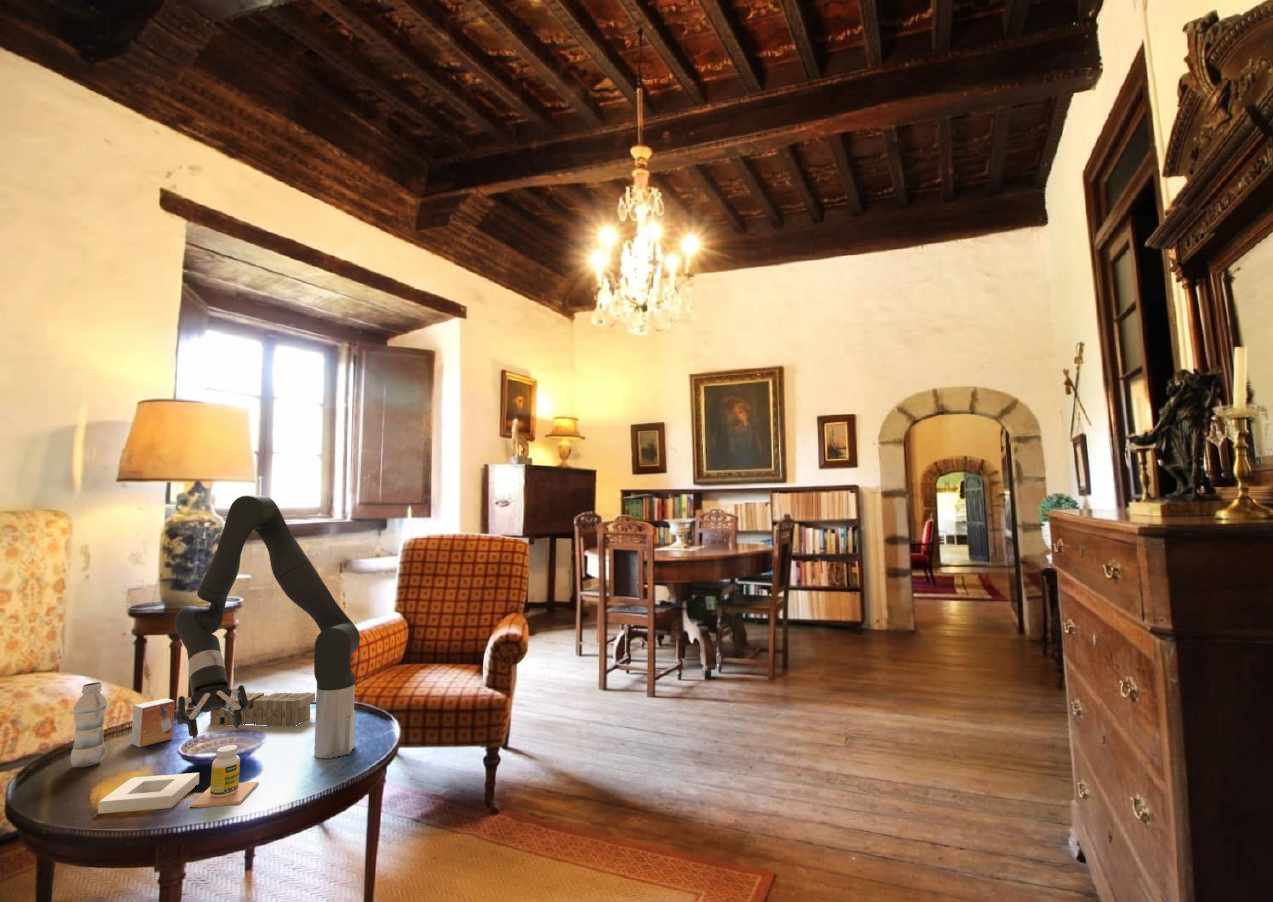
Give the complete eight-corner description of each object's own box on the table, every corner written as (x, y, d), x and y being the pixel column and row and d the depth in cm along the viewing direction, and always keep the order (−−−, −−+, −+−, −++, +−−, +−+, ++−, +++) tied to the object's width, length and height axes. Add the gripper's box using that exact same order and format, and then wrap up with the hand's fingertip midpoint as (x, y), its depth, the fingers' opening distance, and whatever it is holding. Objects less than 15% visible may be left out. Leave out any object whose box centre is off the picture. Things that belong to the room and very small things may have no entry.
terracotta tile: (258, 783, 149) (258, 781, 149) (240, 803, 139) (240, 801, 139) (211, 787, 147) (211, 784, 147) (189, 808, 137) (189, 805, 137)
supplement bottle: (224, 799, 140) (227, 753, 140) (204, 797, 141) (206, 751, 141) (244, 788, 145) (246, 744, 146) (224, 786, 146) (226, 742, 147)
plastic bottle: (106, 764, 160) (111, 683, 161) (70, 773, 155) (76, 689, 156) (102, 757, 164) (107, 679, 166) (67, 765, 159) (73, 684, 161)
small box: (139, 748, 171) (141, 708, 171) (130, 744, 174) (132, 704, 174) (173, 738, 177) (175, 700, 178) (164, 734, 180) (166, 697, 181)
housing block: (198, 783, 149) (199, 772, 149) (171, 807, 137) (172, 795, 137) (131, 788, 146) (132, 777, 147) (98, 813, 135) (98, 801, 135)
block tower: (205, 729, 188) (300, 727, 187) (205, 700, 189) (300, 698, 187) (223, 720, 196) (315, 718, 194) (223, 692, 196) (315, 690, 195)
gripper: (176, 669, 152) (183, 730, 143) (243, 659, 163) (254, 715, 154) (170, 687, 156) (177, 748, 147) (236, 676, 166) (247, 732, 157)
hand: (217, 731), depth 150 cm, fingers open, 8 cm apart
